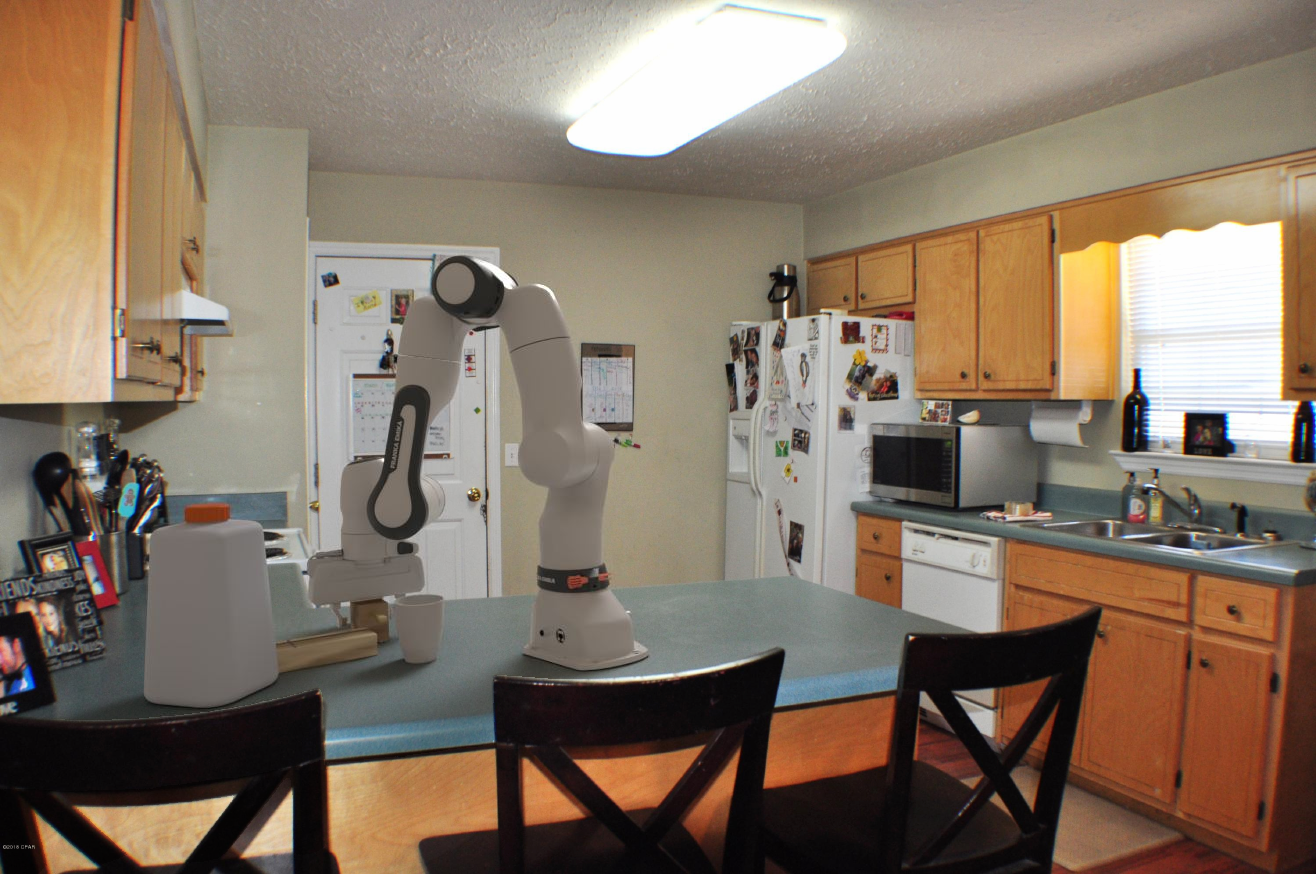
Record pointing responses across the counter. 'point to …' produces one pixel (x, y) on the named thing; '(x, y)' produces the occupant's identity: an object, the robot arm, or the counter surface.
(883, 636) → the counter surface
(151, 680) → the plastic bottle
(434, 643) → the cup
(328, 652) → the board
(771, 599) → the counter surface
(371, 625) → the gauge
